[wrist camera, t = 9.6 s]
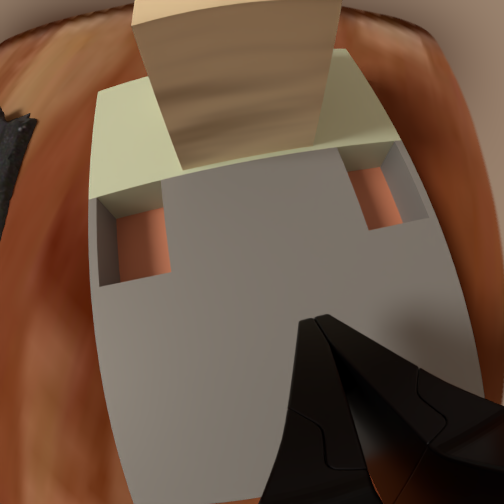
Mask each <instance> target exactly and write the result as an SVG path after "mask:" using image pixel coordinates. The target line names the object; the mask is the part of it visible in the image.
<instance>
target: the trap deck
mask: <svg viewBox="0 0 504 504" xmlns="http://www.w3.org/2000/svg"><path fill="white" fill-rule="evenodd" d="M88 236H89V268H90V285H91V298H92V310H93V320H94V329H95V337H96V345H97V352H98V359H99V365H100V371H101V377H102V383H103V388H104V394H105V399H106V404H107V408H108V413H109V418H110V422H111V426H112V431H113V435H114V439H115V443H116V447H117V450H118V454H119V458H120V461H121V465H122V468H123V472H124V475H125V478H126V481H127V485H128V488H129V491H130V494H131V497H132V500H133V503H134V504H211V503H221V502H230V501H237V500H245V499H251V498H257V497H261V496H262V494H263V491H264V489H265V486H266V483H267V481H268V478H269V475H270V473H271V470H272V467H273V464H274V462H275V459H276V456H277V453H278V449H279V446H280V443H281V439H282V435H283V430H284V425H285V419H286V413H287V407H288V400H289V393H290V386H291V379H292V371H293V364H294V356H295V348H296V339H297V331H298V323H299V321H300V320H303V319H307V318H313V319H314V317H316V316H320V315H324V314H330V315H331V316H333V317H335V318H336V319H338V320H340V321H341V322H343V323H345V324H347V325H348V326H350V327H352V328H353V329H355V330H357V331H358V332H360V333H362V334H364V335H365V336H367V337H369V338H370V339H372V340H374V341H375V342H377V343H379V344H381V345H382V346H384V347H386V348H387V349H389V350H391V351H393V352H394V353H396V354H398V355H400V356H401V357H403V358H405V359H406V360H408V361H410V362H412V363H413V364H415V365H417V366H418V367H419V368H422V369H424V370H426V371H427V372H429V373H431V374H433V375H435V376H436V377H438V378H440V379H442V380H444V381H446V382H448V383H450V384H452V385H454V386H457V387H459V388H461V389H463V390H465V391H468V392H470V393H473V394H475V395H477V396H480V397H482V398H485V397H484V390H483V383H482V377H481V371H480V365H479V360H478V355H477V350H476V345H475V340H474V336H473V331H472V327H471V323H470V319H469V315H468V311H467V307H466V303H465V300H464V296H463V293H462V289H461V286H460V282H459V279H458V276H457V273H456V270H455V266H454V263H453V260H452V257H451V254H450V252H449V249H448V246H447V243H446V240H445V238H444V235H443V232H442V230H441V227H440V224H439V222H438V219H437V217H436V214H435V212H434V209H433V207H432V204H431V202H430V200H429V197H428V195H427V193H426V190H425V188H424V186H423V184H422V181H421V179H420V177H419V175H418V173H417V171H416V169H415V166H414V164H413V162H412V160H411V158H410V156H409V154H408V152H407V150H406V148H405V146H404V144H403V142H402V140H401V139H400V137H399V135H398V133H397V131H396V129H395V127H394V125H393V124H392V122H391V120H390V118H389V116H388V115H387V113H386V111H385V109H384V108H383V106H382V104H381V103H380V101H379V99H378V98H377V96H376V94H375V93H374V91H373V89H372V88H371V86H370V85H369V83H368V81H367V80H366V78H365V77H364V75H363V74H362V72H361V71H360V69H359V68H358V66H357V65H356V63H355V62H354V60H353V59H352V57H351V56H350V54H349V53H348V51H347V50H346V49H333V53H332V58H331V63H330V68H329V73H328V78H327V83H326V88H325V93H324V97H323V102H322V107H321V112H320V116H319V121H318V125H317V130H316V134H315V139H314V143H313V146H310V147H303V148H297V149H290V150H284V151H278V152H272V153H266V154H261V155H255V156H250V157H245V158H239V159H234V160H229V161H224V162H219V163H215V164H210V165H205V166H201V167H196V168H192V169H187V170H182V168H181V165H180V162H179V160H178V157H177V154H176V152H175V149H174V146H173V144H172V141H171V138H170V135H169V133H168V130H167V127H166V125H165V122H164V119H163V116H162V114H161V111H160V108H159V105H158V102H157V100H156V97H155V94H154V91H153V88H152V86H151V83H150V80H149V77H144V78H141V79H137V80H134V81H130V82H127V83H124V84H120V85H117V86H114V87H111V88H108V89H105V90H102V91H99V92H98V96H97V103H96V110H95V118H94V127H93V137H92V148H91V161H90V178H89V210H88Z"/></svg>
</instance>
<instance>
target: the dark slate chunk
mask: <svg viewBox="0 0 504 504" xmlns="http://www.w3.org/2000/svg"><path fill="white" fill-rule="evenodd" d="M29 116H30V113H29V114H27V115H24V116H22V117H19V118H16V119H14V120H11V121H9V122H6V120H5V116H4V112H3V111H2V109H1V107H0V240H1V236H2V231H3V228H4V225H5V219H6V216H7V212H8V207H9V200H10V198H11V196H12V192H13V188H14V185H15V182H16V179H17V175H18V171H19V168H20V166H21V163H22V160H23V156H24V153H25V151H26V148H27V145H28V143H29V141H30V138H31V136H32V133H33V130H34V128H35V125H36V123H37V120H36V119H35V118H29Z"/></svg>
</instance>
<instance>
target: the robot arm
mask: <svg viewBox="0 0 504 504" xmlns="http://www.w3.org/2000/svg"><path fill="white" fill-rule="evenodd" d="M368 471H369V472H368ZM369 473H370V475H371V477H372V479H373V481H374V484H375V486H376V488H377V490H378V492H379V494H380V496H381V499H382V500H381V499H380V497H379V496H378V494H377V492H376V491H375V489H374V486H373V484H372V481H371V478H370V475H369ZM382 501H383V502H382ZM383 503H384V504H504V406H502V405H499V404H497V403H494V402H492V401H489V400H487V399H485V398H482V397H480V396H477V395H475V394H473V393H470V392H468V391H465V390H463V389H461V388H459V387H457V386H454V385H452V384H450V383H448V382H446V381H444V380H442V379H440V378H438V377H436V376H435V375H433V374H431V373H429V372H427V371H426V370H424V369H422V368H419V367H418V366H417V365H415V364H413V363H412V362H410V361H408V360H406V359H405V358H403V357H401V356H400V355H398V354H396V353H394V352H393V351H391V350H389V349H387V348H386V347H384V346H382V345H381V344H379V343H377V342H375V341H374V340H372V339H370V338H369V337H367V336H365V335H364V334H362V333H360V332H358V331H357V330H355V329H353V328H352V327H350V326H348V325H347V324H345V323H343V322H341V321H340V320H338V319H336V318H335V317H333V316H331V315H330V314H324V315H320V316H316V317H314V319H313V318H307V319H303V320H300V321H299V323H298V331H297V339H296V348H295V356H294V364H293V371H292V379H291V386H290V393H289V400H288V407H287V413H286V419H285V425H284V430H283V435H282V439H281V443H280V446H279V449H278V453H277V456H276V459H275V462H274V464H273V467H272V470H271V473H270V475H269V478H268V481H267V483H266V486H265V489H264V491H263V494H262V496H261V499H260V501H259V503H258V504H383Z"/></svg>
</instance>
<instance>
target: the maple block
mask: <svg viewBox="0 0 504 504" xmlns="http://www.w3.org/2000/svg"><path fill="white" fill-rule="evenodd" d="M341 5H342V0H135V3H134V10H133V17H132V24H131V27H132V30H133V33H134V36H135V39H136V42H137V45H138V48H139V51H140V54H141V57H142V60H143V63H144V65H145V68H146V71H147V74H148V77H149V80H150V83H151V86H152V88H153V91H154V94H155V97H156V100H157V102H158V105H159V108H160V111H161V114H162V116H163V119H164V122H165V125H166V127H167V130H168V133H169V135H170V138H171V141H172V144H173V146H174V149H175V152H176V154H177V157H178V160H179V162H180V165H181V168H182V170H187V169H192V168H196V167H201V166H205V165H210V164H215V163H219V162H224V161H229V160H234V159H239V158H245V157H250V156H255V155H261V154H266V153H272V152H278V151H284V150H290V149H297V148H303V147H310V146H313V143H314V139H315V134H316V130H317V125H318V121H319V116H320V112H321V107H322V102H323V97H324V93H325V88H326V83H327V78H328V73H329V68H330V63H331V58H332V53H333V48H334V43H335V38H336V32H337V27H338V22H339V16H340V11H341Z"/></svg>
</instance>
